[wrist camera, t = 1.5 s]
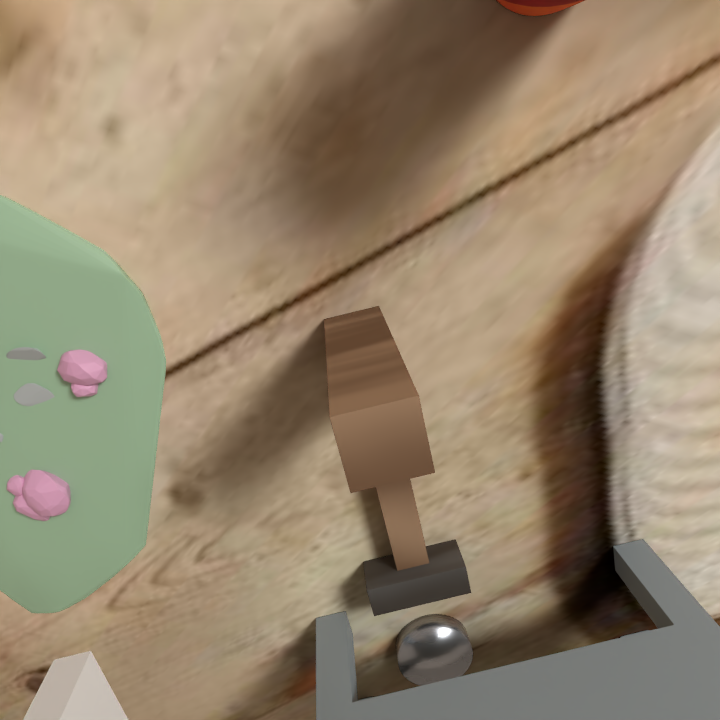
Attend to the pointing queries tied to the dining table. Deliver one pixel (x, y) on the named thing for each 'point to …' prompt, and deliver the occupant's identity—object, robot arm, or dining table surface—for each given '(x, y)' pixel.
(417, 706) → the cabinet
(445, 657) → the silver flat dome
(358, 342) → the pusher tool
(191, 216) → the dining table surface
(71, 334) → the miniature garden model
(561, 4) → the coffee cup
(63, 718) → the robot arm
